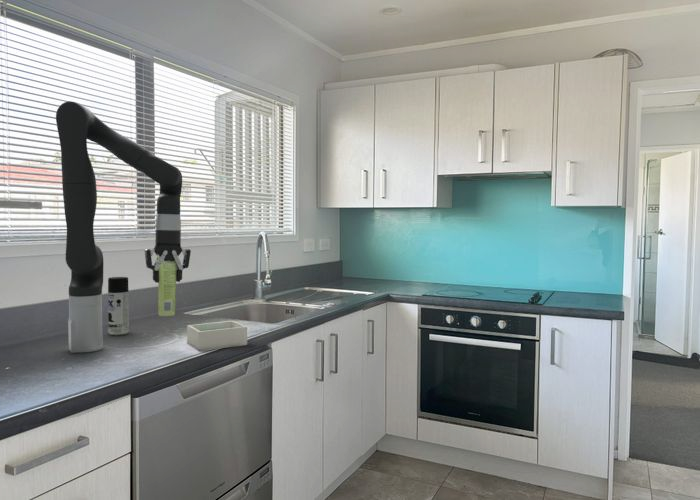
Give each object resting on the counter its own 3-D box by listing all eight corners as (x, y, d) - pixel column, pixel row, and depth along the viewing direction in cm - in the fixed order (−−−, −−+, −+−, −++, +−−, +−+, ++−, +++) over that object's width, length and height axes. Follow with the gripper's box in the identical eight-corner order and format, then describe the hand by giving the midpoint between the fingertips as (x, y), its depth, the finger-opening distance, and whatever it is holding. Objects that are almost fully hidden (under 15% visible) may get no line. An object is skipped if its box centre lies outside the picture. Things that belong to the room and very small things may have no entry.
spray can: (105, 333, 188) (104, 277, 187) (124, 330, 193) (123, 276, 192) (113, 336, 184) (112, 279, 182) (132, 333, 188) (131, 277, 187)
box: (199, 351, 165) (199, 332, 165) (187, 343, 175) (187, 325, 175) (247, 344, 174) (247, 326, 174) (233, 337, 184) (233, 320, 184)
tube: (161, 313, 171) (161, 253, 170) (177, 313, 171) (178, 253, 170) (156, 316, 165) (157, 254, 164) (173, 316, 165) (174, 254, 164)
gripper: (147, 228, 159) (146, 284, 160) (194, 229, 167) (194, 282, 168) (141, 228, 165) (140, 281, 166) (187, 228, 174) (186, 279, 174)
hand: (167, 281), depth 167 cm, fingers closed on tube, 6 cm apart
